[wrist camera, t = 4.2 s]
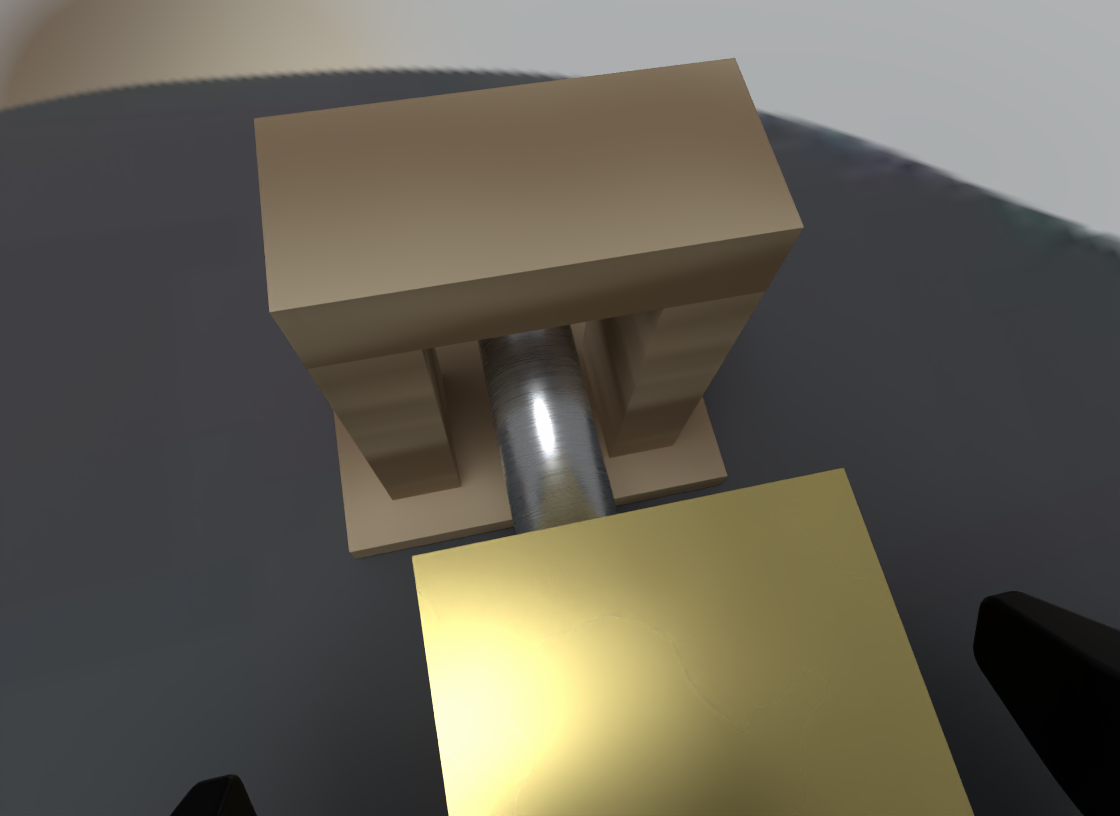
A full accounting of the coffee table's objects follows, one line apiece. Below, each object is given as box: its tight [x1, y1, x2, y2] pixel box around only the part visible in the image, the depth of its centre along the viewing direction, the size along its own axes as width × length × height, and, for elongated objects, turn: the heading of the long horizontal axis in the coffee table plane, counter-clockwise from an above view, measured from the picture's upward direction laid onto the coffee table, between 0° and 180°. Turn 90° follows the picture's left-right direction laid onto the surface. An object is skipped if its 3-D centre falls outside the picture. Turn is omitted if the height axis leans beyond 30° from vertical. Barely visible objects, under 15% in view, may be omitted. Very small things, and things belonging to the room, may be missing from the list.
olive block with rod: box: [412, 325, 974, 816], centre depth 13 cm, size 13×4×11 cm, turn 12°
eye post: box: [254, 58, 804, 559], centre depth 14 cm, size 5×9×10 cm, turn 102°
